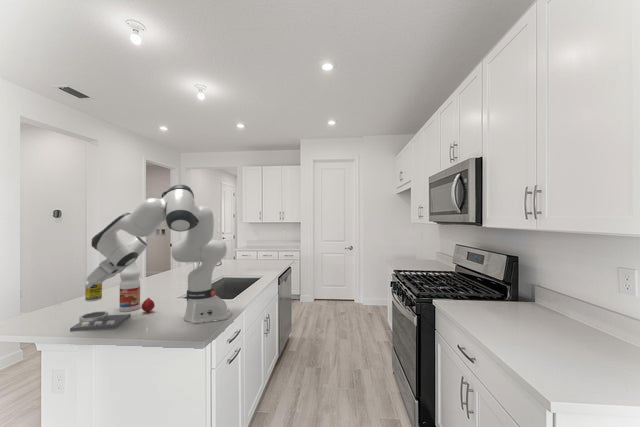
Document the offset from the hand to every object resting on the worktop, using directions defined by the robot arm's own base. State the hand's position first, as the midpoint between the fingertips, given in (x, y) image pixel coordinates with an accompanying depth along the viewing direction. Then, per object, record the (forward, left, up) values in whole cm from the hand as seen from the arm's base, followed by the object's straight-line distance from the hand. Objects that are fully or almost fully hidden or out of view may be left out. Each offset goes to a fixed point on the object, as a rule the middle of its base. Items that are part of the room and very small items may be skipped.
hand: (92, 285), depth 136 cm
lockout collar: (-1, -1, -17) cm, 17 cm away
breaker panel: (-5, 0, -18) cm, 19 cm away
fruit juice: (-8, -21, -18) cm, 29 cm away
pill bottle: (-1, 0, -7) cm, 7 cm away
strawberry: (-20, -13, -18) cm, 30 cm away
